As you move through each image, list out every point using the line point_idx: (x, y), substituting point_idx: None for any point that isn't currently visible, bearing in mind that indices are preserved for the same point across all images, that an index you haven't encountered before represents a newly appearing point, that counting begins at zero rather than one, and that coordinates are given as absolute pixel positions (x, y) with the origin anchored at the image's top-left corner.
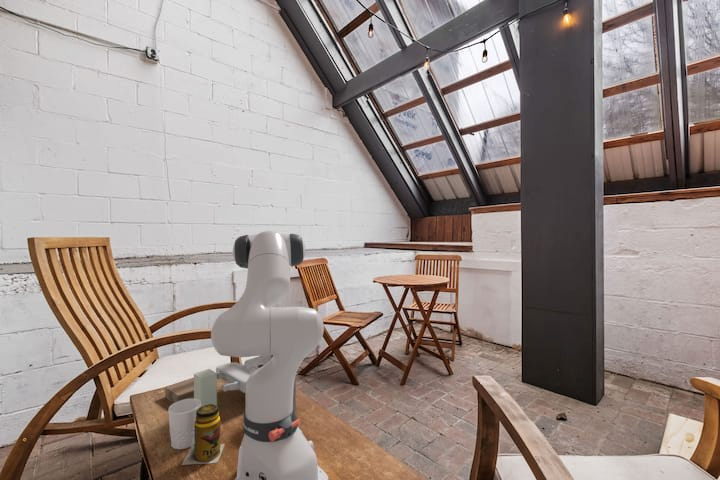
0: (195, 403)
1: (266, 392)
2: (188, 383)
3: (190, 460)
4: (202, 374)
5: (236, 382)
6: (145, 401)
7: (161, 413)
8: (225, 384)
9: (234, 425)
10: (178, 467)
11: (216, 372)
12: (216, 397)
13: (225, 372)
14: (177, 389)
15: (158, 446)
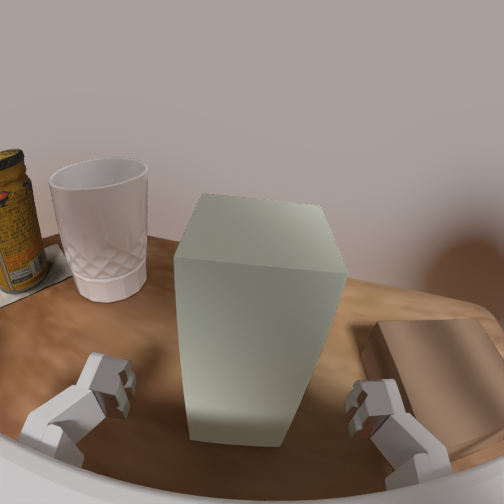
0: (95, 203)
1: None
2: (483, 381)
3: (48, 255)
4: (256, 212)
5: (35, 429)
6: (448, 310)
7: (343, 311)
8: (109, 374)
9: (19, 385)
10: (59, 241)
11: (439, 444)
12: (185, 402)
13: (352, 497)
14: (440, 336)
15: (161, 251)
